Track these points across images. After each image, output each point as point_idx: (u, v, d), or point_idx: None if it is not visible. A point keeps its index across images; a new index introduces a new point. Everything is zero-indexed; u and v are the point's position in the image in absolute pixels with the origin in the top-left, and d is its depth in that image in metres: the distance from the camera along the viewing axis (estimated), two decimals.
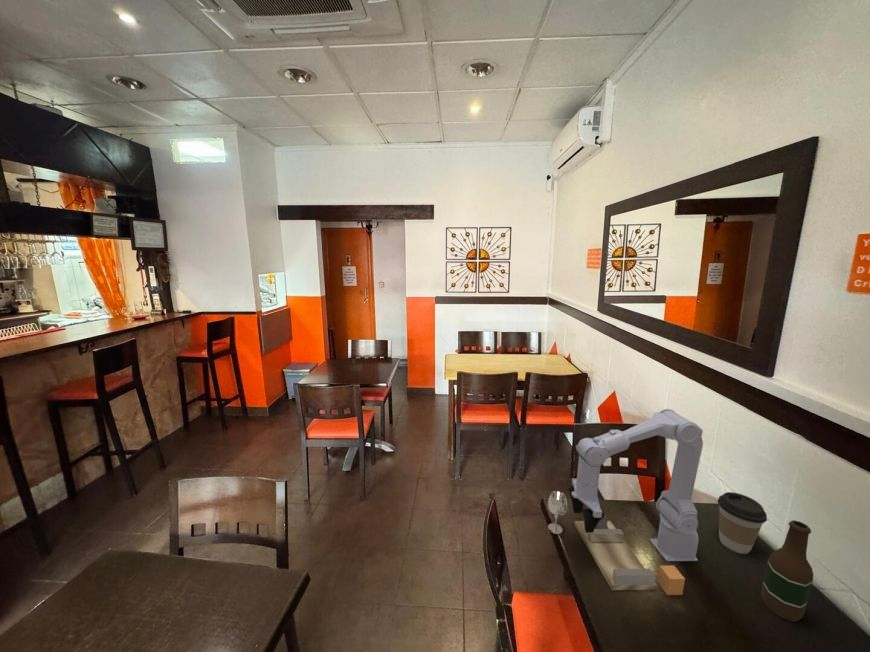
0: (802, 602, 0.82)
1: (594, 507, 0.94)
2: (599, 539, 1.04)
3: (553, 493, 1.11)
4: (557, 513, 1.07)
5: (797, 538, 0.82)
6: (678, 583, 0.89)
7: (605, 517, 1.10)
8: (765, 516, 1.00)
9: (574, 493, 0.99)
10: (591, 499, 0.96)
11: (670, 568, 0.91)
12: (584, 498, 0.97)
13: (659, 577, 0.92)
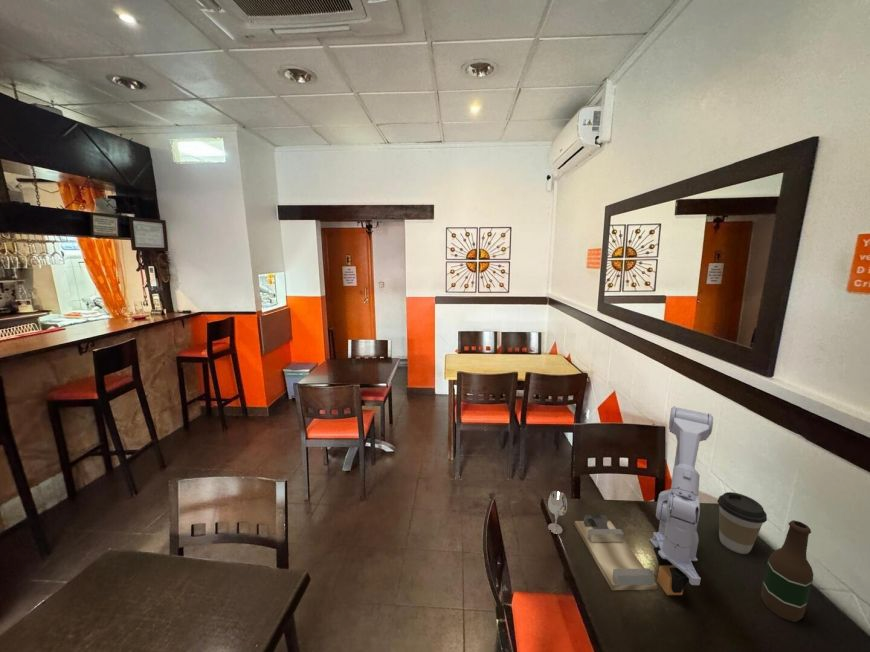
0: (802, 602, 0.82)
1: (690, 572, 0.84)
2: (599, 539, 1.04)
3: (553, 493, 1.11)
4: (557, 513, 1.07)
5: (797, 539, 0.82)
6: None
7: (605, 517, 1.10)
8: (765, 516, 1.00)
9: (662, 553, 0.89)
10: (684, 561, 0.86)
11: None
12: (675, 560, 0.87)
13: (659, 577, 0.92)
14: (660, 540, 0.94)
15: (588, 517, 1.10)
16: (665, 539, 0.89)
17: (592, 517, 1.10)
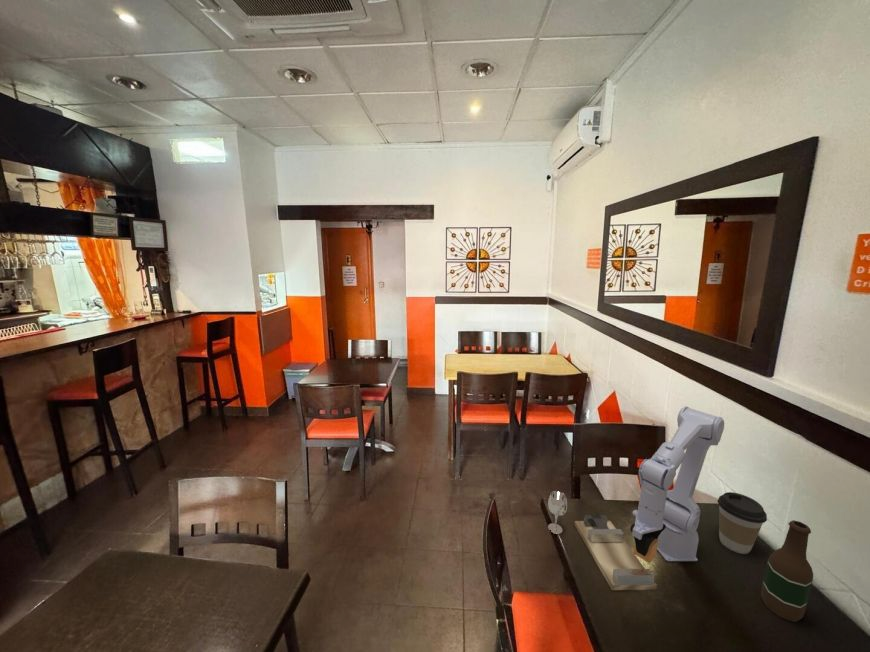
0: (802, 602, 0.82)
1: (639, 528, 0.88)
2: (599, 539, 1.04)
3: (553, 493, 1.11)
4: (557, 513, 1.07)
5: (797, 539, 0.82)
6: None
7: (605, 517, 1.10)
8: (765, 516, 1.00)
9: (636, 511, 0.94)
10: (645, 523, 0.89)
11: None
12: (639, 518, 0.91)
13: None
14: None
15: (588, 517, 1.10)
16: None
17: (592, 517, 1.10)
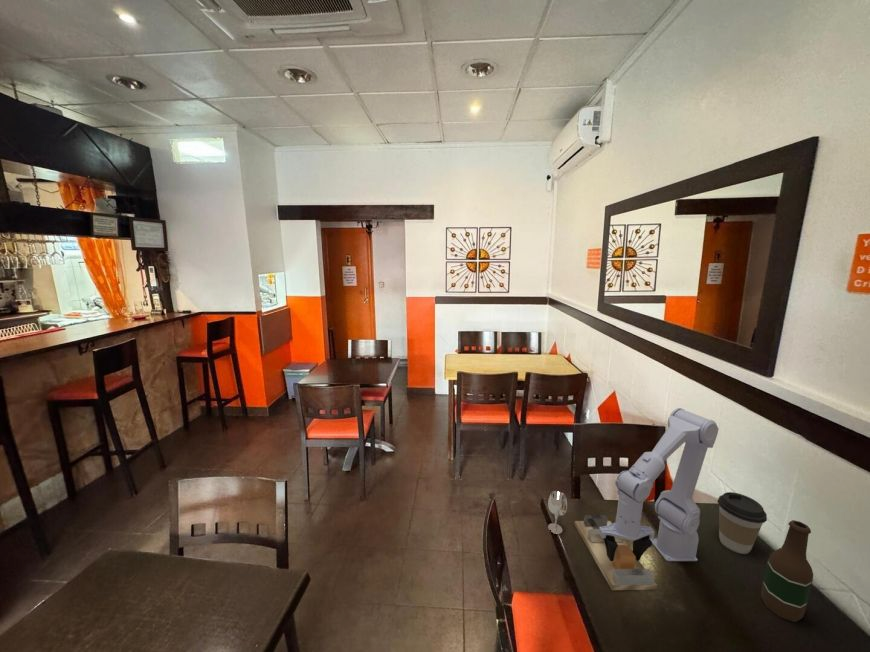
0: (802, 602, 0.82)
1: None
2: (599, 539, 1.04)
3: (553, 493, 1.11)
4: (557, 513, 1.07)
5: (797, 538, 0.82)
6: (617, 556, 0.95)
7: (605, 517, 1.10)
8: (765, 516, 1.00)
9: None
10: (617, 529, 0.94)
11: (629, 551, 0.95)
12: (615, 524, 0.95)
13: None
14: (640, 527, 0.95)
15: (588, 517, 1.10)
16: None
17: (592, 517, 1.10)
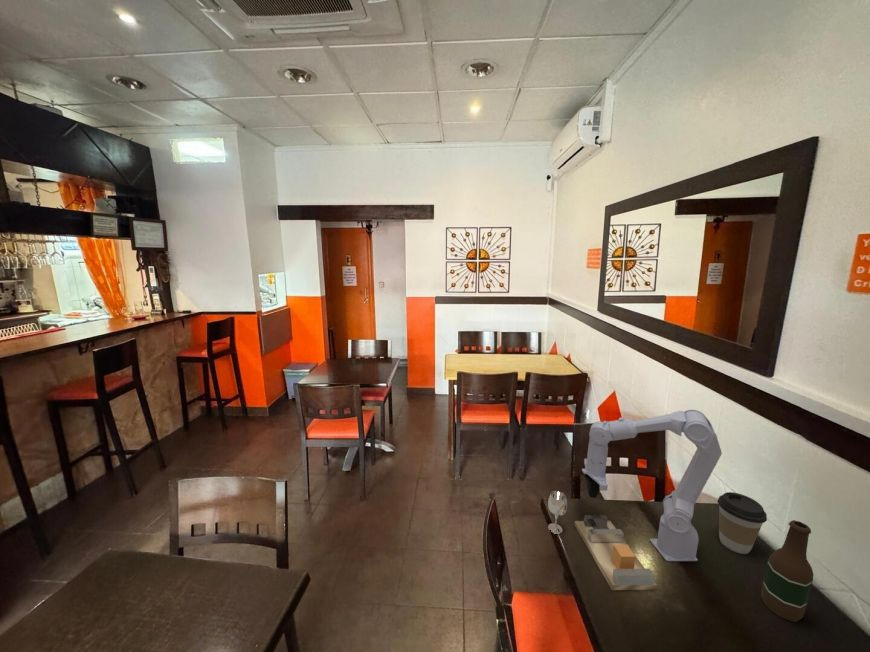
0: (802, 602, 0.82)
1: (601, 481, 1.06)
2: (599, 539, 1.04)
3: (553, 493, 1.11)
4: (557, 513, 1.07)
5: (797, 539, 0.82)
6: (617, 556, 0.95)
7: (605, 517, 1.10)
8: (765, 516, 1.00)
9: (584, 470, 1.12)
10: (599, 475, 1.08)
11: (629, 551, 0.95)
12: (593, 474, 1.09)
13: None
14: None
15: (588, 517, 1.10)
16: (587, 459, 1.11)
17: (592, 517, 1.10)
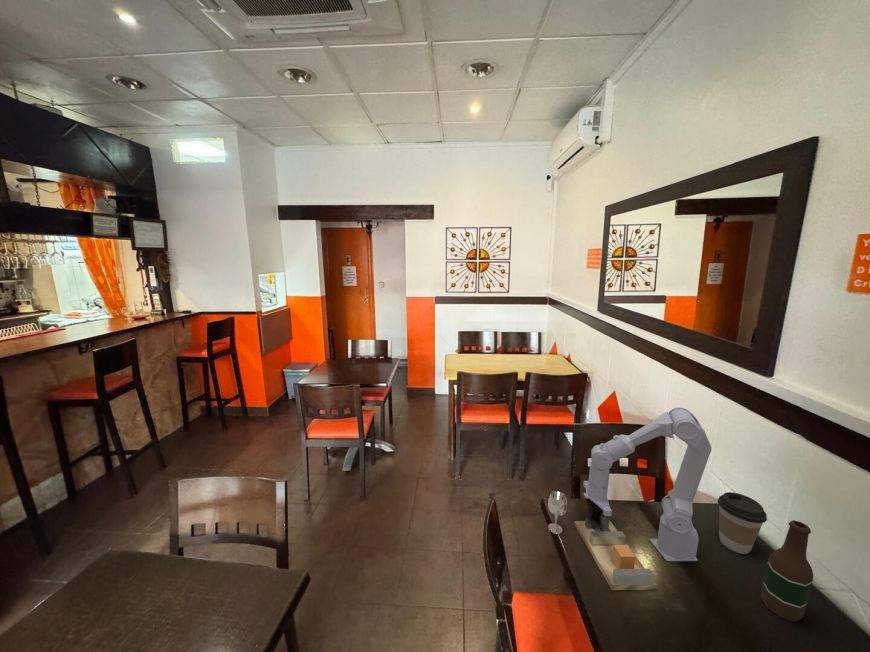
0: (802, 602, 0.82)
1: (604, 507, 1.05)
2: (601, 541, 1.03)
3: (553, 493, 1.11)
4: (557, 513, 1.07)
5: (797, 539, 0.82)
6: (617, 556, 0.95)
7: (607, 519, 1.09)
8: (765, 516, 1.00)
9: (586, 494, 1.10)
10: (602, 499, 1.07)
11: (629, 551, 0.95)
12: (595, 499, 1.08)
13: None
14: (587, 486, 1.15)
15: (589, 519, 1.09)
16: (588, 483, 1.10)
17: (593, 519, 1.09)
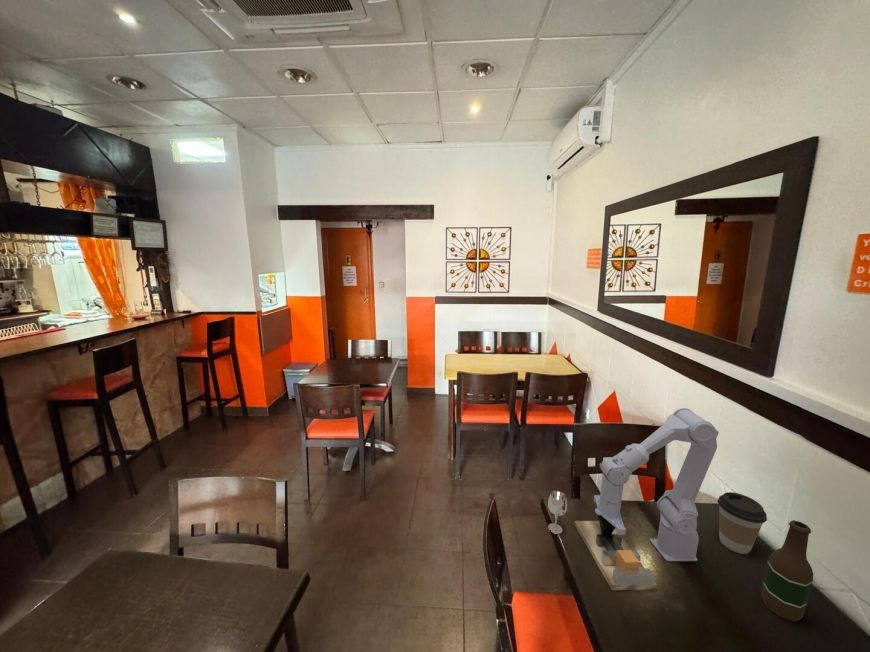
0: (802, 602, 0.82)
1: (618, 525, 0.98)
2: (613, 562, 0.96)
3: (553, 493, 1.11)
4: (557, 513, 1.07)
5: (797, 539, 0.82)
6: (621, 561, 0.93)
7: (619, 536, 1.02)
8: (765, 516, 1.00)
9: (597, 510, 1.03)
10: (614, 516, 1.00)
11: (633, 557, 0.93)
12: (608, 515, 1.01)
13: None
14: (598, 501, 1.07)
15: (601, 536, 1.02)
16: (600, 498, 1.03)
17: (605, 536, 1.02)
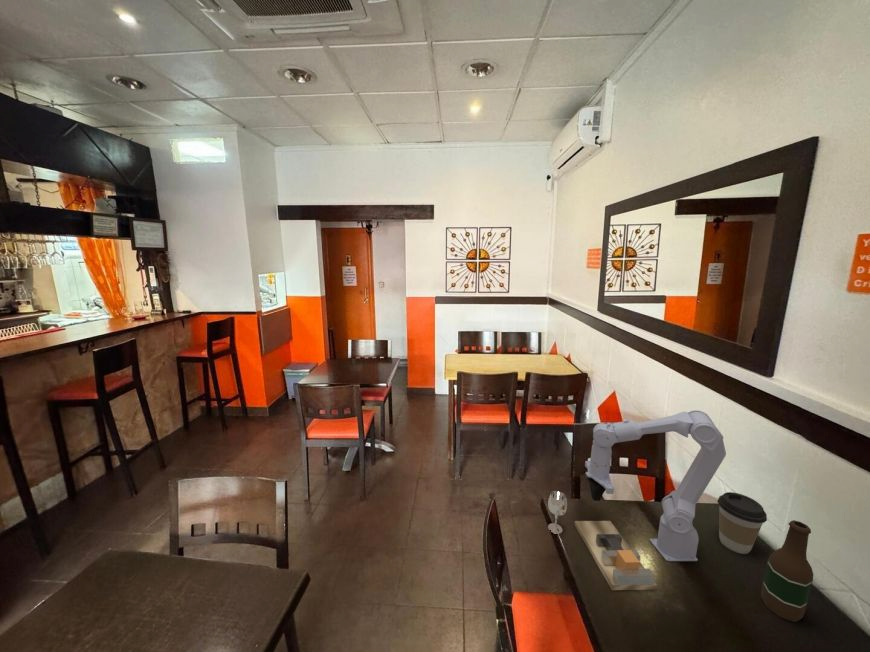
0: (802, 602, 0.82)
1: (607, 485, 1.04)
2: (613, 562, 0.96)
3: (553, 493, 1.11)
4: (557, 513, 1.07)
5: (797, 538, 0.82)
6: (621, 561, 0.93)
7: (619, 536, 1.02)
8: (765, 516, 1.00)
9: (588, 473, 1.09)
10: (604, 478, 1.06)
11: (633, 557, 0.93)
12: (597, 477, 1.07)
13: None
14: (589, 466, 1.14)
15: (601, 536, 1.02)
16: (590, 462, 1.09)
17: (605, 536, 1.02)
